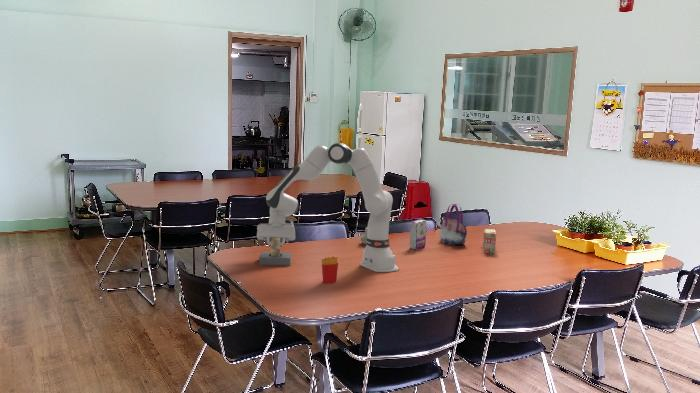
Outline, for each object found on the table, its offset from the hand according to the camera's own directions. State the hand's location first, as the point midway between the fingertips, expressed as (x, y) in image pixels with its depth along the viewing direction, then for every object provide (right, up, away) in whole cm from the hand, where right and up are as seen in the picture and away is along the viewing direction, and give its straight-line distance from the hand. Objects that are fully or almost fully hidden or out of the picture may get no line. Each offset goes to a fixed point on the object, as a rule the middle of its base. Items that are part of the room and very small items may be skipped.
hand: (275, 246), depth 307 cm
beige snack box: (+123, -6, +51) cm, 134 cm away
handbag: (+103, -4, +63) cm, 121 cm away
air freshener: (+51, -3, +53) cm, 73 cm away
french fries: (+29, -15, -29) cm, 44 cm away
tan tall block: (0, -6, +2) cm, 6 cm away
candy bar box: (+79, -5, +48) cm, 93 cm away
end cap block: (0, -9, +2) cm, 9 cm away
